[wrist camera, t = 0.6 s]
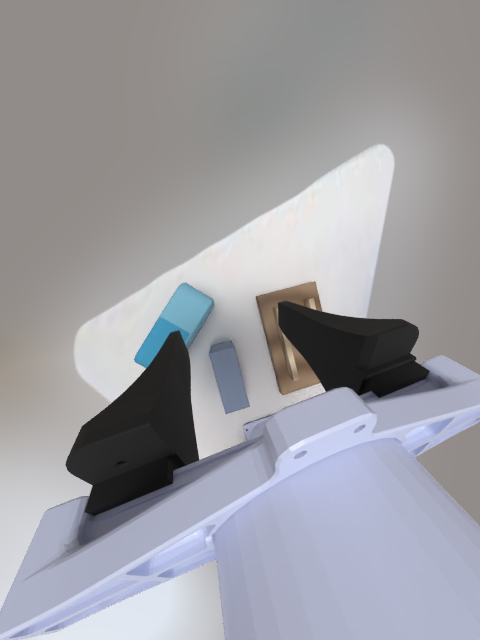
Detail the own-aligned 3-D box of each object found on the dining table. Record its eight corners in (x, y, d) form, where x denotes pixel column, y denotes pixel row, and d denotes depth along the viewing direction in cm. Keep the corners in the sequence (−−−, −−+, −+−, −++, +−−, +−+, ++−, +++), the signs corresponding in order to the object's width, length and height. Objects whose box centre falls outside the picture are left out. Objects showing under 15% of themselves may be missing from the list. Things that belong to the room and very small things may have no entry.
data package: (194, 291, 34) (182, 279, 22) (215, 304, 34) (214, 299, 22) (160, 346, 33) (129, 364, 21) (182, 358, 34) (163, 382, 22)
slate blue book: (243, 388, 35) (249, 406, 28) (224, 394, 35) (225, 414, 28) (230, 340, 35) (234, 346, 28) (210, 345, 34) (209, 353, 27)
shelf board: (332, 374, 38) (344, 380, 34) (279, 391, 36) (286, 400, 33) (311, 282, 36) (321, 279, 33) (255, 296, 35) (260, 294, 32)
